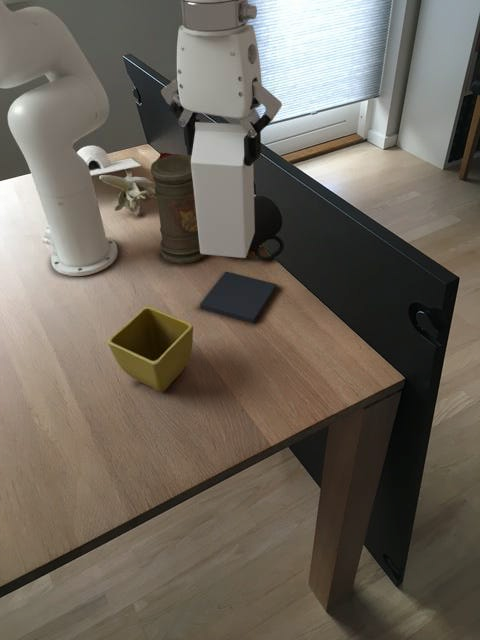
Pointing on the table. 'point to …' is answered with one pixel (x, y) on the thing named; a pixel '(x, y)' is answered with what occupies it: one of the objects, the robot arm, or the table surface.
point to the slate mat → (239, 297)
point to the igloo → (103, 161)
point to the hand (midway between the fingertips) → (222, 156)
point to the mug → (266, 226)
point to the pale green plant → (130, 190)
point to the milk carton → (222, 190)
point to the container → (176, 209)
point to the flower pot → (153, 347)
